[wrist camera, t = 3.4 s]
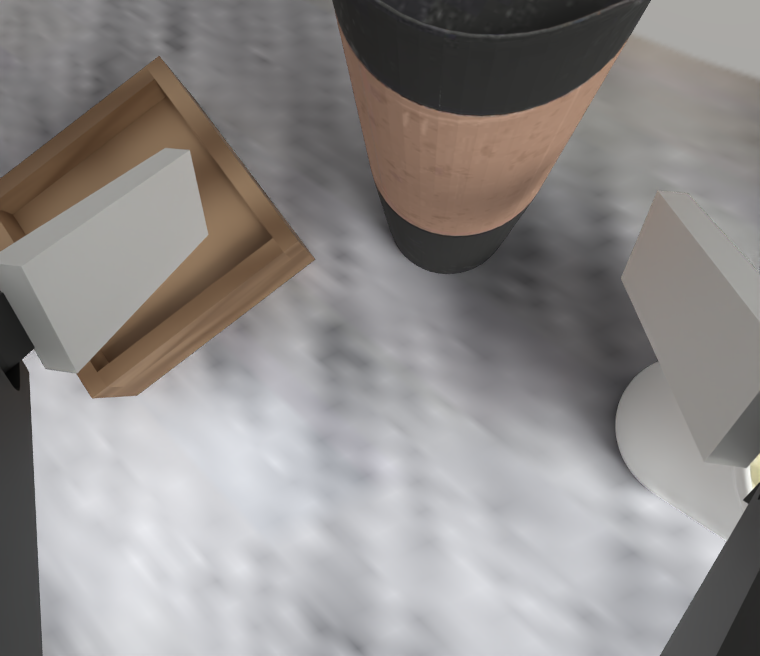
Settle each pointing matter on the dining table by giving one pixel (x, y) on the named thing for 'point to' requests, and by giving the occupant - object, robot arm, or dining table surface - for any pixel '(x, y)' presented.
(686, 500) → the candle holder
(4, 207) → the tray
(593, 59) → the travel mug
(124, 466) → the dining table surface
